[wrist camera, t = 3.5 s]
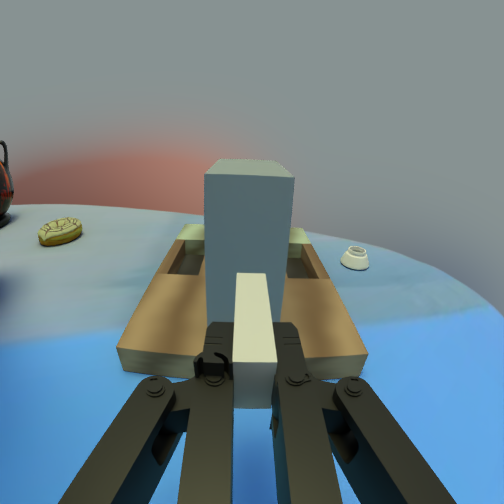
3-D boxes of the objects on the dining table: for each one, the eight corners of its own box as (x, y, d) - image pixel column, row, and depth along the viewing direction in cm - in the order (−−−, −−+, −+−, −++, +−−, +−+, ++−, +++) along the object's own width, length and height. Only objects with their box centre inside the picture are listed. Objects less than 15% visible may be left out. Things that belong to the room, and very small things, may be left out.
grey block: (208, 340, 24) (204, 173, 18) (218, 276, 35) (219, 158, 29) (277, 342, 24) (294, 177, 19) (267, 277, 35) (276, 161, 30)
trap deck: (123, 370, 23) (115, 347, 22) (185, 239, 54) (185, 224, 53) (359, 376, 24) (368, 353, 23) (300, 242, 55) (302, 228, 54)
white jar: (364, 274, 44) (370, 264, 48) (367, 258, 43) (374, 248, 47) (336, 266, 47) (345, 256, 50) (339, 249, 45) (347, 241, 49)
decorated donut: (37, 238, 52) (35, 223, 50) (77, 227, 59) (75, 212, 58) (42, 252, 45) (38, 234, 44) (87, 239, 53) (85, 221, 51)
